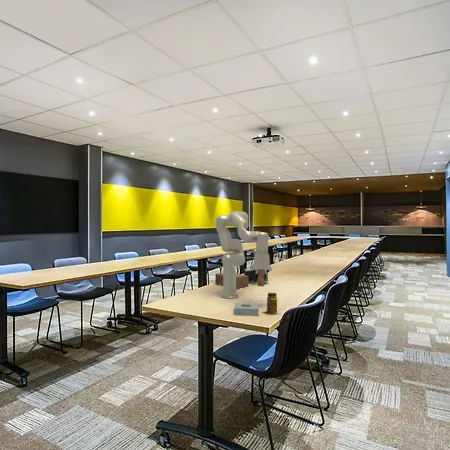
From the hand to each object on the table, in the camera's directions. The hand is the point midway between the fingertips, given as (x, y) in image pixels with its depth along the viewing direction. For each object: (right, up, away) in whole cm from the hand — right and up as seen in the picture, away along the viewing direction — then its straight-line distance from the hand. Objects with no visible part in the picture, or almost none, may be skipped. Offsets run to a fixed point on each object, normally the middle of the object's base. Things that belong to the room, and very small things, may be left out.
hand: (260, 279), depth 217 cm
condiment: (+4, -18, -14) cm, 23 cm away
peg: (0, -4, 0) cm, 4 cm away
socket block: (-10, -18, -13) cm, 24 cm away
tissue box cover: (-18, -17, +68) cm, 73 cm away
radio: (+4, -17, +80) cm, 82 cm away
